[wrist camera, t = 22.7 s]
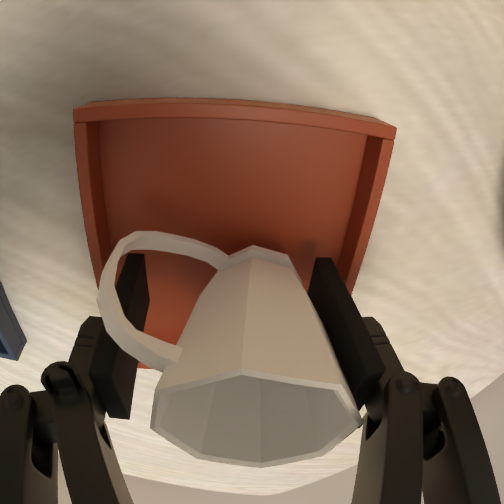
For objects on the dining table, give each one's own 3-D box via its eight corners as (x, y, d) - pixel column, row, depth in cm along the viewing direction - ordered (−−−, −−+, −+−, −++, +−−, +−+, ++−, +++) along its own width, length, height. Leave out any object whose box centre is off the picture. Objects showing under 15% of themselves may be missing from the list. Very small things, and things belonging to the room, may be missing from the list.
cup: (263, 350, 18) (263, 479, 12) (113, 256, 15) (39, 383, 8) (355, 276, 16) (404, 417, 9) (189, 144, 12) (105, 244, 5)
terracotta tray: (90, 102, 12) (72, 108, 10) (376, 118, 14) (397, 127, 12) (125, 343, 20) (119, 367, 18) (317, 343, 22) (324, 366, 20)
